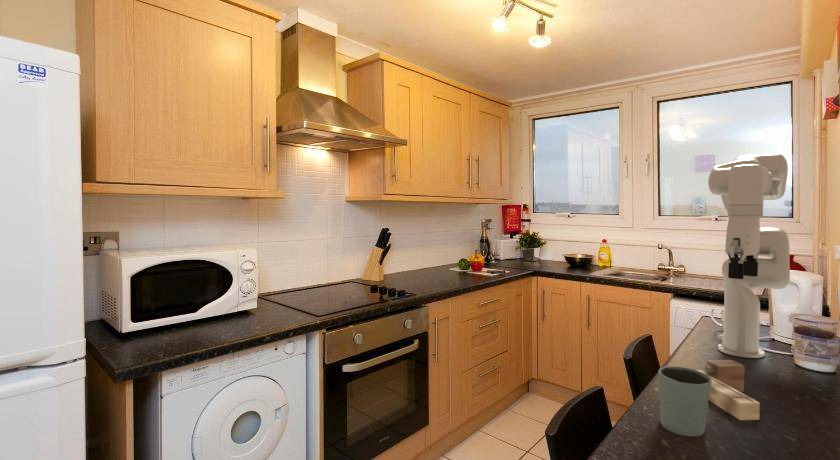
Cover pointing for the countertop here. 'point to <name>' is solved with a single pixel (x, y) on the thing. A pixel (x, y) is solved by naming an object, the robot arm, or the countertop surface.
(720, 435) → the countertop surface
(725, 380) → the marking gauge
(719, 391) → the guide plank
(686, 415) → the green cup
